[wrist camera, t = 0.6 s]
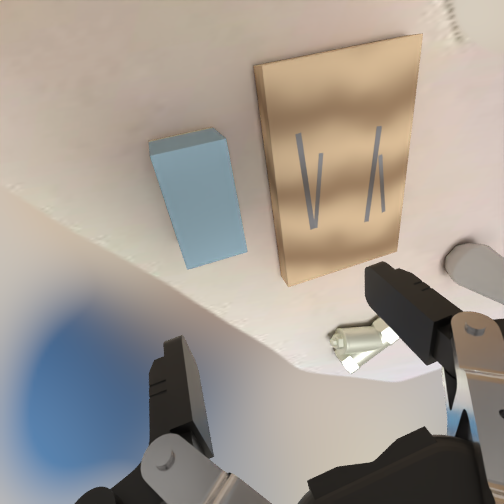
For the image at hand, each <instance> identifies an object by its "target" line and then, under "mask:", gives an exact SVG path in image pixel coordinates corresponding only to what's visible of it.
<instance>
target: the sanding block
mask: <svg viewBox="0 0 504 504" xmlns="http://www.w3.org/2000/svg"><path fill="white" fill-rule="evenodd" d="M149 152H150V158H151V161H152V164H153V167H154V170H155V173H156V176H157V179H158V182H159V185H160V188H161V191H162V194H163V197H164V200H165V204H166V207H167V210H168V213H169V216H170V219H171V222H172V225H173V228H174V231H175V234H176V237H177V240H178V243H179V246H180V249H181V252H182V255H183V258H184V261H185V264H186V267H187V270H188V269H192V268H195V267H198V266H202V265H205V264H209V263H212V262H215V261H219V260H222V259H225V258H229V257H232V256H236V255H239V254H242V253H246V252H247V246H246V241H245V236H244V231H243V225H242V220H241V215H240V209H239V204H238V199H237V194H236V188H235V183H234V178H233V172H232V167H231V162H230V157H229V151H228V146H227V141H226V138H225V137H224V136H222V135H221V134H220V133H219V132H218V131H216V130H215V129H214V128H213V127H210V128H205V129H201V130H196V131H192V132H187V133H183V134H178V135H174V136H169V137H165V138H160V139H155V140H151V141H149Z"/></svg>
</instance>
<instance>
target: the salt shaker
mask: <svg viewBox="0 0 504 504" xmlns="http://www.w3.org/2000/svg"><path fill="white" fill-rule="evenodd" d="M445 269H446V270H447V272H448V274H449V275H450V277H451V279H452V280H453V281H454V282H456V283H457V284H458V285H460V286H462V287H465V288H467V289H469V290H472V291H474V292H476V293H478V294H481V295H483V296H485V297H487V298H490V299H492V300H494V301H497V302H499V303H501V304H503V305H504V258H503V257H502V256H501V255H499V254H498V253H497V252H496V251H494V250H493V249H492V248H490V247H489V246H486V245H481V244H471V243H466V244H461V245H457V246H455V247H454V249H453V250H452V251H451V252H450V253H449V254H448V255H447V256H446V260H445Z"/></svg>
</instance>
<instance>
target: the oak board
mask: <svg viewBox="0 0 504 504" xmlns="http://www.w3.org/2000/svg"><path fill="white" fill-rule="evenodd" d="M422 37H423V34H415V35H407V36H401V37H396V38H391V39H386V40H381V41H376V42H371V43H366V44H361V45H356V46H351V47H346V48H341V49H336V50H331V51H326V52H321V53H316V54H311V55H306V56H301V57H296V58H291V59H285V60H280V61H275V62H270V63H265V64H260V65H255V66H254V74H255V81H256V89H257V97H258V104H259V112H260V119H261V127H262V134H263V142H264V149H265V157H266V164H267V172H268V179H269V187H270V194H271V202H272V209H273V217H274V225H275V232H276V240H277V247H278V255H279V262H280V270H281V277H282V278H283V280H284V281H285V283H286V284H287V286H288V287H290V286H293V285H297V284H300V283H303V282H306V281H309V280H312V279H315V278H318V277H321V276H324V275H327V274H330V273H333V272H336V271H339V270H342V269H345V268H348V267H351V266H354V265H357V264H360V263H363V262H366V261H369V260H372V259H375V258H378V257H381V256H385V255H388V254H391V253H394V252H397V247H398V238H399V230H400V222H401V213H402V205H403V196H404V188H405V180H406V171H407V163H408V154H409V146H410V138H411V129H412V121H413V113H414V104H415V96H416V87H417V79H418V71H419V62H420V54H421V46H422Z"/></svg>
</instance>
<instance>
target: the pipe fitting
mask: <svg viewBox="0 0 504 504" xmlns="http://www.w3.org/2000/svg"><path fill="white" fill-rule="evenodd" d="M399 338H400V337H399V336H398V335H397V334H396V333H395V332H394V331H393V330H392V329H391V328H390V327H389V326H388V325H387V324H386V323H385V322H384V321H383V320H382V319H381V318H378V319H377V320H376V321H374V322H373V323H372V325H371V326H365V327H351V328H338V329H336V331H335V334H334V335H333V336H332V338H331V339H330V344H331V345H332V346H333V347H334V348H335V349H336V351H335V354H336V356H337V358H338V359H339V360H340V362H341V363H342V364H343V366H344V367H345V368H346V369H347V371H348V372H349V373H350V374H352V373H354V372H355V371H356V370H358V369H359V368H360V367H361V366H362V365H363V364H365V363H366V362H367V361H369V360H370V359H371V358H373V357H374V356H375V355H377V354H378V353H380V352H381V351H382V350H384V349H385V348H386V347H388V346H389V345H392V344H393V343H394V342H396V341H397V340H399Z"/></svg>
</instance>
